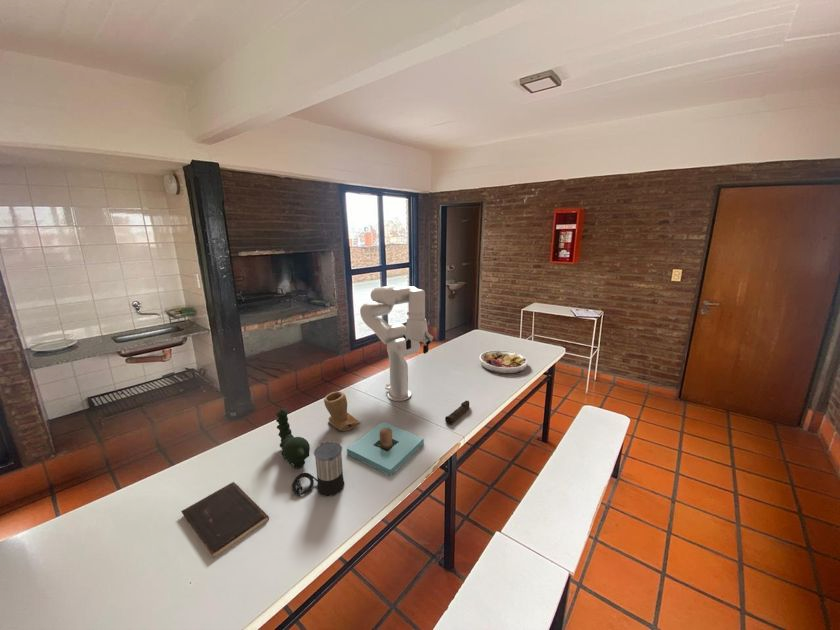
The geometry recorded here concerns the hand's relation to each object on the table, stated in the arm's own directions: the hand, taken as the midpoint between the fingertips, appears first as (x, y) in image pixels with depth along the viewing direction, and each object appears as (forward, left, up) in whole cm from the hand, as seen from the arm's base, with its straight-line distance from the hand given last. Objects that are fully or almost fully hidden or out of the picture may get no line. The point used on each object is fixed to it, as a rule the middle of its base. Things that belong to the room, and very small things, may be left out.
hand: (417, 350), depth 158 cm
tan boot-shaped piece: (-21, -31, -31) cm, 48 cm away
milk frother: (+1, -62, -31) cm, 69 cm away
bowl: (+17, +74, -31) cm, 82 cm away
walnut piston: (+7, -33, -30) cm, 45 cm away
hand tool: (+20, +5, -31) cm, 37 cm away
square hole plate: (+7, -33, -30) cm, 45 cm away
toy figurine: (-20, -57, -31) cm, 68 cm away
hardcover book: (-14, -86, -31) cm, 93 cm away
